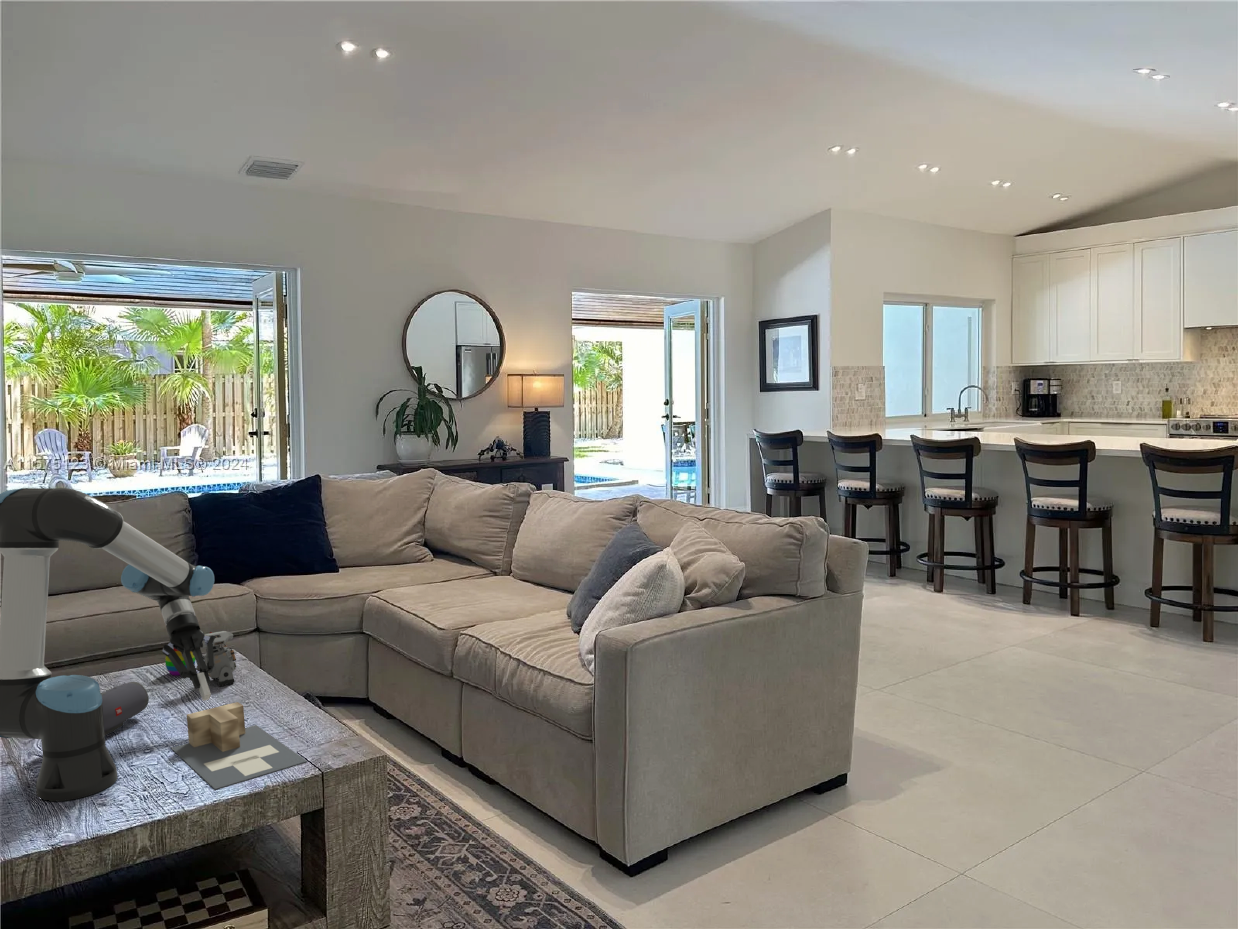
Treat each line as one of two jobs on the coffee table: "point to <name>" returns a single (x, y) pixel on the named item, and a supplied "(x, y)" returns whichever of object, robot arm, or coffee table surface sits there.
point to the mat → (239, 758)
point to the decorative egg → (171, 667)
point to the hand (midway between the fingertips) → (206, 697)
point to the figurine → (221, 658)
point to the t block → (217, 726)
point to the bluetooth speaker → (122, 704)
